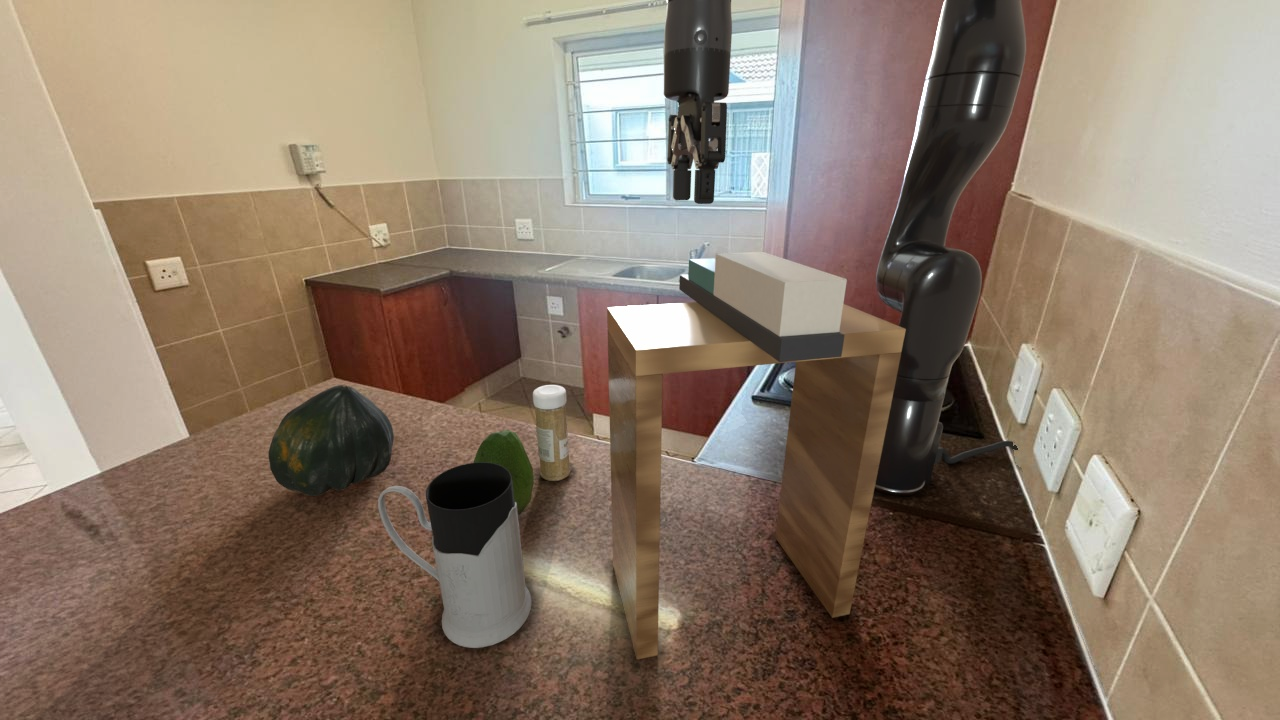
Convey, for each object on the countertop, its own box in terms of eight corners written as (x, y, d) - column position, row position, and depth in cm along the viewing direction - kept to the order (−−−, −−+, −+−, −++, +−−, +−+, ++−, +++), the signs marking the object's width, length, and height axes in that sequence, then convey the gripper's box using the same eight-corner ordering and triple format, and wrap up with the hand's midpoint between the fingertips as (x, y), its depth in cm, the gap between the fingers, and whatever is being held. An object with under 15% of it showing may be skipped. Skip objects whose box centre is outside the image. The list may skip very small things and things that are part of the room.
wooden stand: (790, 535, 61) (821, 294, 51) (849, 614, 50) (906, 328, 40) (613, 565, 56) (606, 307, 46) (636, 660, 46) (635, 350, 35)
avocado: (548, 505, 67) (542, 425, 62) (510, 542, 60) (500, 455, 56) (500, 490, 70) (491, 413, 65) (459, 524, 63) (446, 440, 59)
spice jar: (576, 475, 73) (571, 391, 68) (547, 486, 71) (540, 399, 66) (562, 461, 77) (557, 381, 72) (534, 470, 74) (527, 388, 69)
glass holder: (510, 654, 46) (493, 520, 41) (372, 631, 48) (338, 502, 43) (543, 582, 54) (533, 463, 49) (423, 565, 56) (401, 449, 51)
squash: (233, 456, 68) (264, 390, 61) (334, 413, 81) (369, 356, 74) (301, 534, 67) (340, 477, 60) (392, 479, 80) (432, 427, 73)
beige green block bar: (720, 287, 54) (722, 238, 52) (841, 357, 34) (853, 280, 32) (679, 289, 53) (680, 239, 51) (779, 362, 33) (787, 284, 31)
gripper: (755, 38, 51) (743, 205, 57) (706, 65, 64) (701, 198, 70) (685, 34, 49) (680, 206, 55) (649, 62, 62) (648, 199, 68)
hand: (691, 201), depth 62 cm, fingers open, 8 cm apart
